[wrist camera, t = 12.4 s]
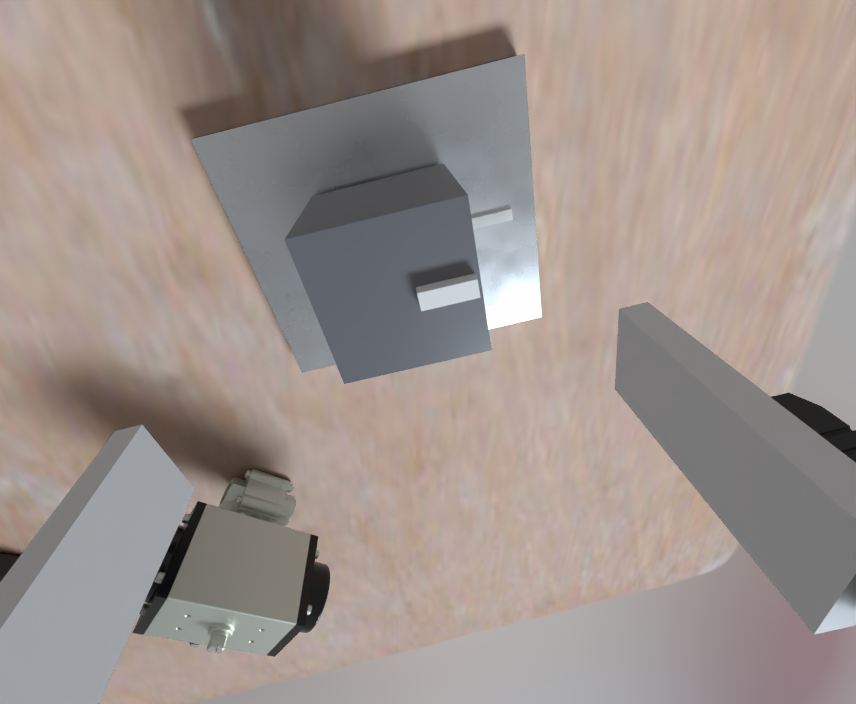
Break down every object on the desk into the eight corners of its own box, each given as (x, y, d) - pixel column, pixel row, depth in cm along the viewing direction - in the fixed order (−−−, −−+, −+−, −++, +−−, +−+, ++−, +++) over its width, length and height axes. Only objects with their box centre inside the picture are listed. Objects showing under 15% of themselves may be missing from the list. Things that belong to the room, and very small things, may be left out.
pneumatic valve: (201, 442, 31) (115, 612, 21) (340, 490, 35) (324, 650, 25) (178, 485, 33) (90, 657, 23) (311, 525, 38) (285, 685, 28)
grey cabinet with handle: (353, 312, 24) (343, 391, 18) (311, 195, 21) (281, 245, 14) (465, 286, 24) (494, 357, 18) (443, 163, 20) (471, 198, 14)
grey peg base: (305, 362, 28) (283, 437, 22) (199, 136, 20) (123, 158, 14) (535, 308, 27) (578, 371, 21) (517, 55, 20) (576, 42, 14)
